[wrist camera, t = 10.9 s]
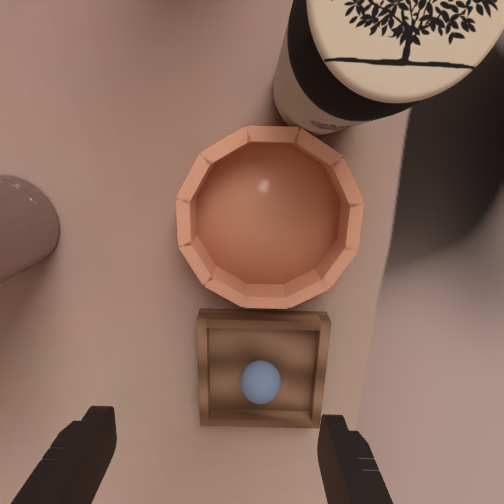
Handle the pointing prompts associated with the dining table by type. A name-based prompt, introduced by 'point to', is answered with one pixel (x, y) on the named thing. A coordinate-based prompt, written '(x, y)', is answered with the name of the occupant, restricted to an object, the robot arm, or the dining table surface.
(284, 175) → the bowl
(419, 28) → the travel mug
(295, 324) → the tray
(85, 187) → the dining table surface
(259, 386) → the ball
